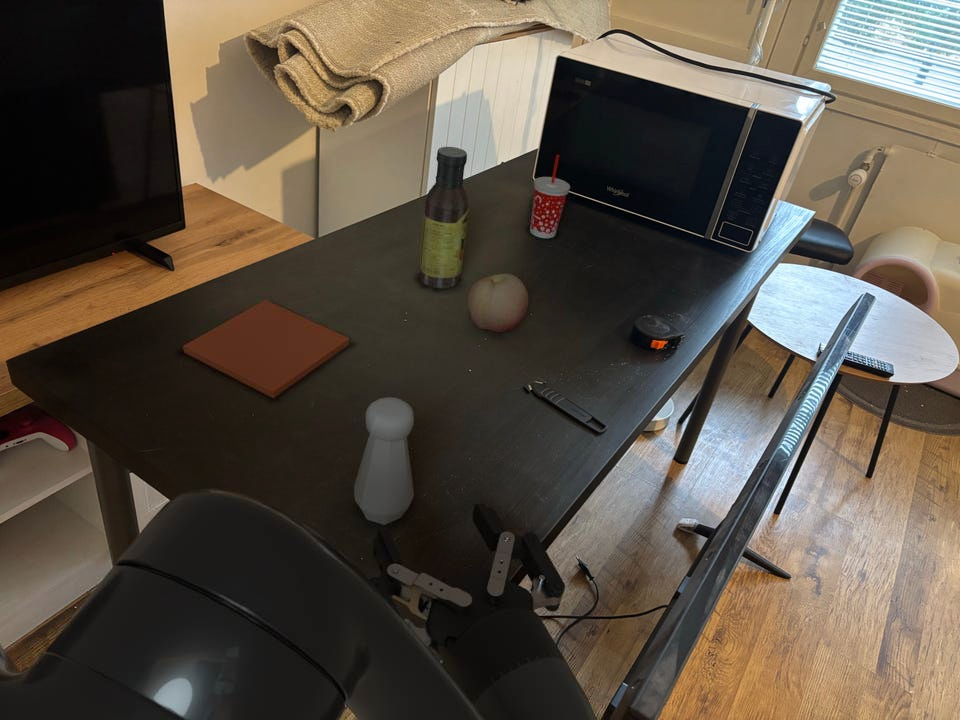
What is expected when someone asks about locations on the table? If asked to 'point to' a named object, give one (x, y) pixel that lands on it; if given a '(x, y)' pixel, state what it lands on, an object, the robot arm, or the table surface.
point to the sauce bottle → (445, 222)
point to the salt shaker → (386, 462)
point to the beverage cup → (548, 204)
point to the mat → (267, 347)
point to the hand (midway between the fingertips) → (430, 522)
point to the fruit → (498, 303)
